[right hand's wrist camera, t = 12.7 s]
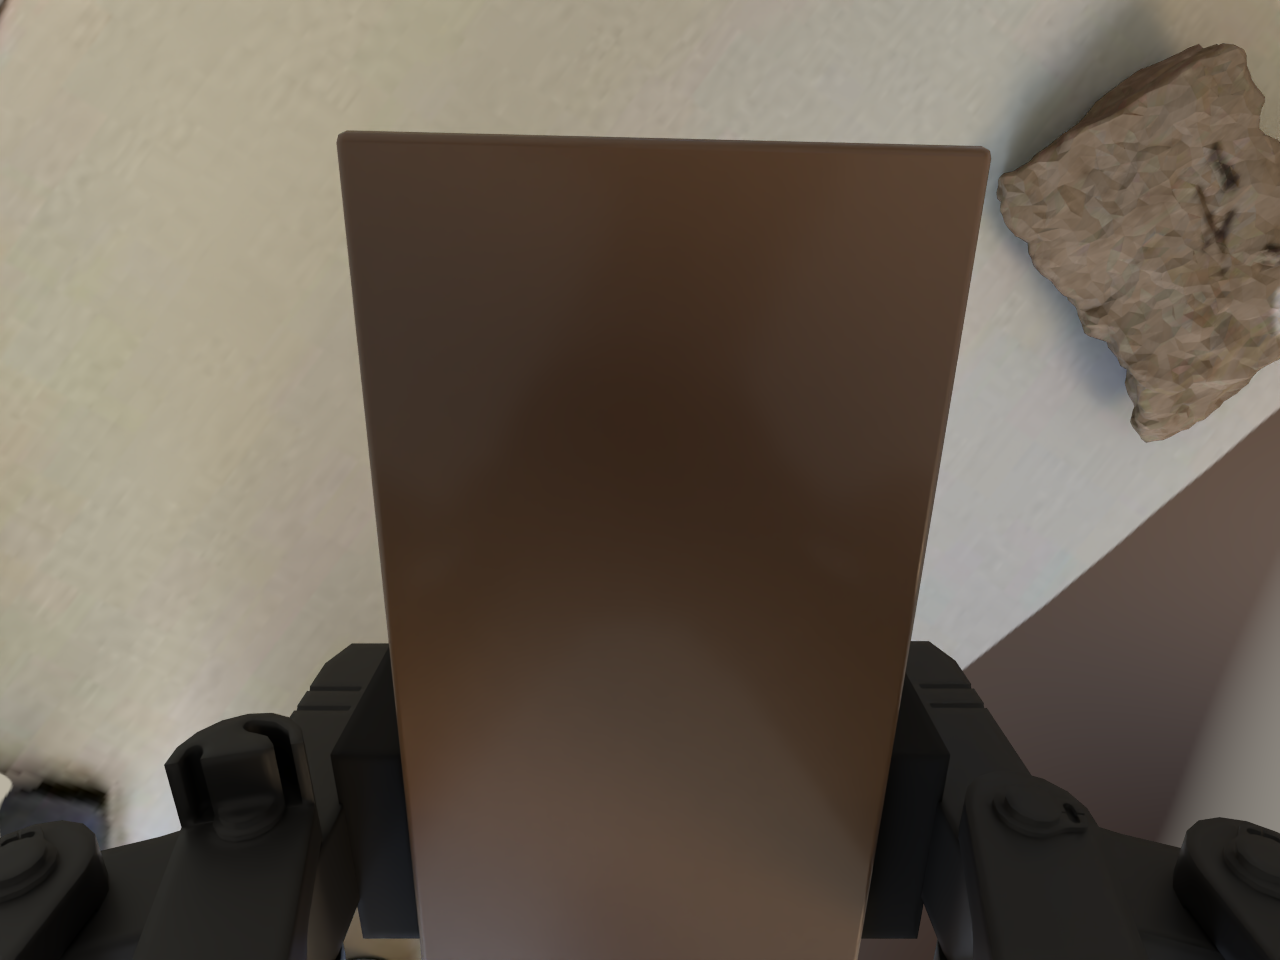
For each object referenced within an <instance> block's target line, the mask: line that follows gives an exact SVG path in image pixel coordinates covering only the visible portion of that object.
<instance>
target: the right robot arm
mask: <svg viewBox="0 0 1280 960" xmlns="http://www.w3.org/2000/svg"><path fill="white" fill-rule="evenodd" d="M164 766H165V770H166V773H167V777H168V780H169V784H170V788H171V791H172V795H173V798H174V802H175V805H176V809H177V813H178V816H179V820H180V823H181V827H182V828H181V830H180V831H177V832H174V833H171V834H168V835H164V836H161V837H157V838H153V839H149V840H145V841H141V842H136V843H132V844H128V845H124V846H120V847H115V848H111V849H107V850H103V851H100V848H99V845H98V842H97V839H96V836H95V834H94V833H93V832H92V831H91V830H90V829H89V828H88V827H86V826H85V825H84V824H82V823H76V822H70V821H63V820H62V821H55V822H48V823H41V824H35V825H32V826H29V827H26V828H24V829H21V830H18V831H15V832H12V833H10V834H7V835H4V836H2V837H1V838H0V960H346V955H345V950H344V944H343V941H344V939H345V936H346V933H347V931H348V928H349V926H350V923H351V921H352V918H353V916H354V913H355V911H356V908H357V906H358V912H359V917H360V923H361V928H362V934H363V938H420V936H419V926H418V917H417V907H416V897H415V888H414V878H413V869H412V859H411V850H410V840H409V831H408V821H407V811H406V802H405V792H404V783H403V773H402V764H401V754H400V745H399V735H398V725H397V716H396V706H395V697H394V687H393V678H392V668H391V659H390V649H389V644H351V645H349V646H348V647H347V648H345V649H344V650H343V651H341V652H340V653H339V654H337V655H336V656H335V657H333V658H332V659H331V660H329V661H328V662H327V663H325V665H324V666H323V668H322V669H321V671H320V672H319V674H318V675H317V677H316V678H315V680H314V681H313V683H312V684H311V686H310V691H307V692H306V693H305V695H304V696H303V698H302V700H301V701H300V703H299V704H298V706H297V711H294V712H293V713H292V715H291V716H290V718H289V717H285V716H281V715H278V714H274V713H259V714H246V715H242V716H238V717H234V718H230V719H226V720H222V721H220V722H218V723H216V724H214V725H212V726H210V727H207V728H205V729H203V730H201V731H199V732H197V733H196V734H194V735H193V736H192V737H190V738H189V739H188V740H186V741H185V742H184V743H182V744H181V745H180V746H178V747H177V748H176V750H175V751H174V752H173V754H172V755H171V756H170V758H169V759H168V760H167V762H166V763H165V765H164ZM923 904H924V905H925V908H926V911H927V913H928V916H929V918H930V921H931V923H932V926H933V928H934V931H935V933H936V936H937V938H938V940H937V945H936V950H935V955H934V960H1280V833H1278V832H1275V831H1273V830H1270V829H1267V828H1264V827H1261V826H1258V825H1256V824H1253V823H1250V822H1247V821H1241V820H1234V819H1228V818H1221V817H1219V818H1212V819H1205V820H1199V821H1198V822H1196V823H1195V824H1194V825H1193V826H1192V827H1191V828H1190V829H1188V830H1187V832H1186V835H1185V838H1184V841H1183V844H1182V847H1181V848H1178V847H1174V846H1170V845H1166V844H1162V843H1157V842H1153V841H1149V840H1145V839H1141V838H1136V837H1132V836H1128V835H1123V834H1120V833H1117V832H1113V831H1110V830H1107V829H1104V828H1100V827H1099V826H1098V825H1097V823H1096V822H1095V820H1094V819H1093V817H1092V815H1091V814H1090V812H1089V811H1088V809H1087V808H1086V807H1085V806H1084V805H1083V804H1081V803H1080V802H1079V801H1078V800H1077V799H1076V798H1074V797H1073V796H1072V795H1071V794H1070V793H1069V792H1067V791H1065V790H1064V789H1062V788H1060V787H1058V786H1056V785H1054V784H1052V783H1050V782H1048V781H1046V780H1045V779H1042V778H1038V777H1035V776H1032V775H1031V774H1030V772H1029V771H1028V769H1027V768H1026V766H1025V765H1024V763H1023V762H1022V760H1021V759H1020V757H1019V756H1018V754H1017V753H1016V751H1015V750H1014V748H1013V747H1012V745H1011V744H1010V742H1009V741H1008V739H1007V738H1006V736H1005V735H1004V733H1003V732H1002V730H1001V729H1000V727H999V726H998V724H997V723H996V721H995V720H994V718H993V717H992V715H991V714H990V712H989V711H988V709H987V708H984V703H983V702H982V700H981V699H980V697H979V696H978V694H977V693H976V691H975V689H971V683H970V682H969V680H968V679H967V677H966V676H965V674H964V673H963V671H962V670H961V668H960V667H959V665H958V664H957V662H956V661H955V660H954V659H952V658H951V657H950V656H948V655H947V654H945V653H944V652H943V651H941V650H940V649H939V648H937V647H936V646H935V645H933V644H932V643H931V642H929V641H911V642H910V648H909V654H908V660H907V666H906V672H905V678H904V684H903V690H902V696H901V702H900V708H899V714H898V720H897V726H896V732H895V738H894V744H893V750H892V756H891V762H890V768H889V774H888V780H887V786H886V792H885V798H884V804H883V810H882V816H881V822H880V828H879V834H878V840H877V846H876V852H875V858H874V864H873V870H872V876H871V882H870V888H869V894H868V900H867V906H866V912H865V918H864V924H863V930H862V936H861V938H904V939H905V938H907V939H914V938H915V939H917V937H918V931H919V926H920V920H921V915H922V909H923Z"/></svg>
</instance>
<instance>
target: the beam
mask: <svg viewBox="0 0 1280 960" xmlns="http://www.w3.org/2000/svg"><path fill="white" fill-rule="evenodd" d="M337 152H338V162H339V171H340V181H341V191H342V200H343V210H344V219H345V229H346V238H347V248H348V257H349V267H350V277H351V286H352V296H353V305H354V315H355V324H356V334H357V343H358V353H359V363H360V372H361V382H362V391H363V401H364V410H365V420H366V429H367V439H368V448H369V458H370V468H371V477H372V487H373V496H374V506H375V515H376V525H377V534H378V544H379V554H380V563H381V573H382V582H383V592H384V601H385V611H386V620H387V630H388V640H389V649H390V659H391V668H392V678H393V687H394V697H395V706H396V716H397V725H398V735H399V745H400V754H401V764H402V773H403V783H404V792H405V802H406V811H407V821H408V831H409V840H410V850H411V859H412V869H413V878H414V888H415V897H416V907H417V917H418V926H419V936H420V945H421V955H422V960H858V954H859V948H860V942H861V936H862V930H863V924H864V918H865V912H866V906H867V900H868V894H869V888H870V882H871V876H872V870H873V864H874V858H875V852H876V846H877V840H878V834H879V828H880V822H881V816H882V810H883V804H884V798H885V792H886V786H887V780H888V774H889V768H890V762H891V756H892V750H893V744H894V738H895V732H896V726H897V720H898V714H899V708H900V702H901V696H902V690H903V684H904V678H905V672H906V666H907V660H908V654H909V648H910V642H911V636H912V630H913V624H914V618H915V612H916V606H917V600H918V594H919V588H920V582H921V576H922V570H923V564H924V558H925V552H926V546H927V540H928V534H929V528H930V522H931V516H932V510H933V504H934V498H935V492H936V486H937V480H938V474H939V468H940V462H941V456H942V450H943V444H944V438H945V432H946V426H947V420H948V414H949V408H950V402H951V396H952V390H953V384H954V378H955V372H956V366H957V360H958V353H959V347H960V341H961V335H962V329H963V323H964V317H965V311H966V305H967V299H968V293H969V287H970V281H971V275H972V269H973V263H974V257H975V251H976V245H977V239H978V233H979V227H980V221H981V215H982V209H983V203H984V197H985V191H986V185H987V179H988V173H989V167H990V161H991V155H990V151H989V150H988V149H986V148H984V147H982V146H953V145H912V144H872V143H831V142H791V141H750V140H710V139H669V138H629V137H588V136H548V135H508V134H467V133H427V132H386V131H345V132H342V133H340V134H339V135H338V138H337Z"/></svg>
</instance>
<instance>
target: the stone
mask: <svg viewBox="0 0 1280 960" xmlns="http://www.w3.org/2000/svg"><path fill="white" fill-rule="evenodd" d="M1264 102H1265V97H1264V96H1263V94H1262V93H1261V92H1260V90H1259V89H1258V88H1257V86H1256V85H1255V84H1254V82H1253V81H1252V79H1251V75H1250V72H1249V70H1248V68H1247V62H1246V53H1245V51H1244V50H1243V49H1241V48H1239V47H1237V46H1235V45H1232V44H1224V43H1223V44H1220V45H1217V44H1216V45H1213V46H1210V47H1207V48H1204V49H1203V48H1202V47H1201V46H1200V45H1199V44H1198V45H1196V46H1193V47H1190V48H1187V49H1186V50H1184V51H1182V52H1180V53H1178V54H1176V55H1174V56H1172V57H1170V58H1168V59H1166V60H1163V61H1161V62H1159V63H1156V64H1154V65H1152V66H1149V67H1146V68H1143V69H1141V70H1139V71H1138V72H1136V73H1135V74H1133V75H1132V76H1130V77H1129V78H1127V79H1126V80H1124V81H1123V82H1121V83H1120V84H1119V85H1118V86H1117V87H1115V88H1114V89H1112V90H1111V91H1109V92H1108V93H1106V94H1105V95H1104V96H1103V97H1102V98H1101V99H1100V100H1098V101H1097V102H1096V103H1095V104H1094V105H1093V107H1092V108H1091V109H1090V111H1089V112H1088V113H1087V114H1086V116H1085V117H1084V118H1083V119H1082V120H1081V121H1080V122H1079V123H1078V124H1077V125H1075V126H1074V127H1073V128H1071V129H1070V130H1068V131H1067V132H1066V133H1063V134H1062V135H1061V136H1060V137H1059V138H1057V139H1056V140H1055V141H1054V142H1052V143H1051V144H1050V145H1049V146H1048V147H1046V148H1045V149H1043V150H1042V151H1040V152H1039V153H1037V154H1036V155H1035V156H1034V157H1033V158H1032V159H1031V161H1030V162H1028V163H1026V164H1025V165H1023V166H1021V167H1019V168H1017V169H1016V170H1015V171H1013V172H1008V173H1004V174H1003V175H1002V176H1001V177H1000V178H999V180H998V189H997V199H998V200H999V201H1000V202H1001V206H1000V212H1001V213H1002V215H1003V218H1004V222H1005V224H1006V225H1007V227H1008V228H1009V229H1010V230H1011V231H1012V232H1013V233H1014V235H1015V236H1016V237H1019V238H1021V239H1022V240H1024V241H1025V242H1027V243H1028V250H1029V255H1030V257H1031V258H1032V261H1033V265H1034V267H1035V268H1036V269H1037V270H1038V271H1039V272H1040V273H1041V274H1042V275H1043V276H1044V277H1046V278H1047V279H1049V280H1050V281H1051V282H1052V283H1053V284H1054V286H1055V287H1056V288H1057V289H1058V291H1060V292H1061V293H1062V294H1063V295H1064V296H1066V297H1067V298H1068V300H1069V301H1070V302H1071V303H1072V304H1073V305H1074V306H1075V307H1076V309H1077V312H1078V316H1079V319H1080V321H1081V323H1082V326H1083V329H1084V333H1085V334H1087V335H1088V336H1090V337H1094V338H1097V339H1100V340H1104V341H1106V342H1107V344H1108V348H1109V349H1110V350H1111V351H1112V352H1113V353H1114V354H1115V356H1116V357H1117V358H1118V361H1119V363H1120V365H1121V366H1122V367H1124V368H1126V369H1127V375H1126V380H1125V385H1126V389H1127V392H1128V395H1129V397H1130V398H1131V400H1132V401H1133V403H1134V406H1135V407H1134V409H1133V412H1132V417H1131V421H1130V422H1131V424H1132V426H1133V428H1134V429H1135V430H1136V432H1137V433H1138V434H1139V435H1140V437H1141V439H1142V440H1143V441H1145V442H1146V443H1147V442H1151V441H1158V440H1164V439H1166V438H1169V437H1171V436H1173V435H1174V434H1176V433H1178V432H1180V431H1182V430H1186V429H1189V428H1190V427H1192V426H1193V425H1194V424H1195V423H1196V422H1199V421H1202V420H1204V419H1205V418H1206V417H1208V416H1209V415H1210V414H1211V413H1212V412H1213V411H1215V410H1216V409H1217V408H1219V407H1220V406H1221V404H1222V403H1223V402H1224V401H1225V400H1227V399H1229V398H1230V397H1232V396H1233V395H1235V394H1237V393H1238V392H1239V391H1240V390H1241V389H1242V388H1243V387H1244V386H1246V385H1247V384H1248V383H1249V381H1250V380H1251V378H1252V377H1253V376H1254V375H1255V373H1256V372H1257V371H1259V370H1260V369H1261V368H1263V367H1265V366H1267V365H1269V364H1270V363H1272V362H1274V361H1276V360H1279V359H1280V142H1279V141H1278V140H1277V139H1274V138H1272V137H1270V136H1267V135H1265V134H1264V133H1263V132H1262V131H1261V130H1260V129H1259V121H1260V112H1261V108H1262V106H1263V104H1264Z"/></svg>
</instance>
